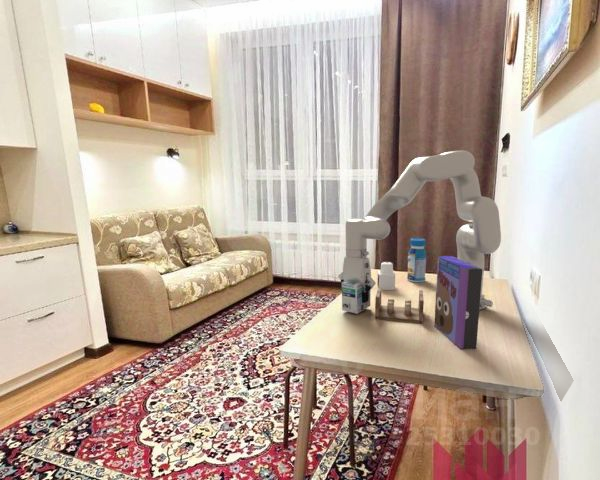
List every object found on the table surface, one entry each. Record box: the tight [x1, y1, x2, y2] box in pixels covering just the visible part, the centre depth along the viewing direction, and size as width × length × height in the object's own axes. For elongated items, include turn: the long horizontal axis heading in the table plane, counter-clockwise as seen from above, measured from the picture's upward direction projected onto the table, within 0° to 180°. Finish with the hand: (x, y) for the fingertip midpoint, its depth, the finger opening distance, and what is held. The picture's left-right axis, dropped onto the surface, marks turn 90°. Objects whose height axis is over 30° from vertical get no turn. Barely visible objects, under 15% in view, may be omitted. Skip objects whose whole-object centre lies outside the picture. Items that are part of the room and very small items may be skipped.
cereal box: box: [433, 255, 482, 350], centre depth 116 cm, size 17×5×24 cm, turn 5°
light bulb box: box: [341, 280, 371, 315], centre depth 140 cm, size 11×7×11 cm, turn 143°
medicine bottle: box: [376, 260, 396, 291], centre depth 169 cm, size 7×7×12 cm
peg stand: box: [374, 286, 425, 324], centre depth 136 cm, size 12×16×8 cm
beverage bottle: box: [406, 237, 427, 283], centre depth 180 cm, size 8×8×20 cm
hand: (356, 299), depth 141 cm, fingers closed on light bulb box, 7 cm apart
